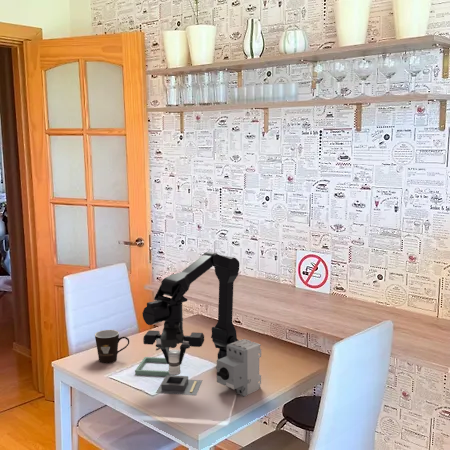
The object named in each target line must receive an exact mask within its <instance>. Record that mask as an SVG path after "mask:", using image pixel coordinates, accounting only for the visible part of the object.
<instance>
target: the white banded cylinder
mask: <svg viewBox="0 0 450 450" xmlns="http://www.w3.org/2000/svg"><path fill="white" fill-rule="evenodd" d="M168 356H169V364H168V370H169V374H170V375H174V376H180V375H181V374H182V373H181V372H182V371H181V365H180V363H179V359H180V350H177V349H171V350H169V352H168Z"/></svg>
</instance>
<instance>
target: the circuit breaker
mask: <svg viewBox="0 0 450 450" xmlns="http://www.w3.org/2000/svg"><path fill="white" fill-rule="evenodd" d="M238 340H239V341H236V342H233V343H231V344H228V345H227V356H226V357H223V358H221V359H218V358H217V360H216V367H215V369H216V382H217V384H219V385H223V386H225V387H227V388H229V389H232V390H236V391H235V394H237V395H240V396H242V397H246V396H248V395H250V394H252V393H255V392H257V391H259V390H261V389H262V387H261V385H262V375H261V374H260V358H262V348H261V345H262V344H260V343H258V342H254V341H251V340H249V339H246V338H243V339H238Z"/></svg>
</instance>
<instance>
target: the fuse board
mask: <svg viewBox="0 0 450 450" xmlns="http://www.w3.org/2000/svg"><path fill="white" fill-rule="evenodd" d="M202 383H203V380H201V379H189V376H188V375H187V376H186V375H167V376H164V378H163V379H162V381H161V382H160V385H159V386H158V389H157V390H156V392H155V393H156V394H167V395H182V396H183V395H185V396H197V394H198V393H199V390H200V388H201V386H202Z"/></svg>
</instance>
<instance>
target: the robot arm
mask: <svg viewBox="0 0 450 450" xmlns="http://www.w3.org/2000/svg"><path fill="white" fill-rule="evenodd" d="M213 267H214V273H215V276H216V278H217V279H218V304H217V305H218V307H217V309H218V310H217V323H216V324H215V326H212V327H211V336H210V339H212V340H211V341H212V343H213V345H214V347H215V349H218V352H217V360H218V359H221V358H223V357H226V356H227V345H228V344H231V343H233V342H236V341H239V340H240V339H238V337H237V330H236V328H235V325H234V322H233V309H234V308H233V307H234V305H233V304H234V282H235V280H236V279H237V277H238V276H239V270H240V261H239V260H238V259H237V258H236V257H232V256H228V255H222V254H221V255H220V254H218V253H216V252H211V251H206V252H203V255H202V256H200V257H199V258H197V260H195V261H194V262H192V263H191V264H190V265H188V266H187V267H186V268H184V269H183V270H182V271H180V272H177V273H172V274H171V275H168V276H166V277H165V278H163V279H162V280H161V283H160V286H159V288H158V289H157V292H156V293H155V296H154V297H153V300H154V301H149V302H146V306H145V307H144V308H143V310H142V314H141V315H142V319H143V321H144V323H145V324H146V325H148V326H153V325H156V324H158V323H159V324H160V323H162V322H163V328H162V332H160V331H159V330H152V329H151V330H148V331H147V332H146V333H145V334H144V336H143V344H144V345H151V346H153V345H154V344H155V343H156V344H155V347H156V348H158V347H159V348H160V349H159V350H161V352H162V354H163V356H164V357H163V358H165V359H166V362H167V363H166V364H167V365H169V356H168V352H169V351H170V349H175V348H177V346H178V345H179V344H181V345H180V346H179V351H180V359H179V363H180V366H181V365H182V363H183V360H184V357H185V354H186V351H187V349H190V348H191V347H193V348H201V347H202V346H203V344H204V342H205V335H204V333H203V332H194V331H193V332H191V334H189V335H185V334H184V326H183V324H184V323H183V322H184V317H183V313H184V312H183V303H185V302H187V301H188V298H186V297H185V294H186V293H187V292H188V291H189V289H190V286H191V285H192V283H194V282H195V281H196V280H197V279H199V278H200V277H201V276H203V274H205V273H206V272H208V271H209V270H210V269H211V268H213ZM164 295H165V296H164ZM169 347H170V348H169Z"/></svg>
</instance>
